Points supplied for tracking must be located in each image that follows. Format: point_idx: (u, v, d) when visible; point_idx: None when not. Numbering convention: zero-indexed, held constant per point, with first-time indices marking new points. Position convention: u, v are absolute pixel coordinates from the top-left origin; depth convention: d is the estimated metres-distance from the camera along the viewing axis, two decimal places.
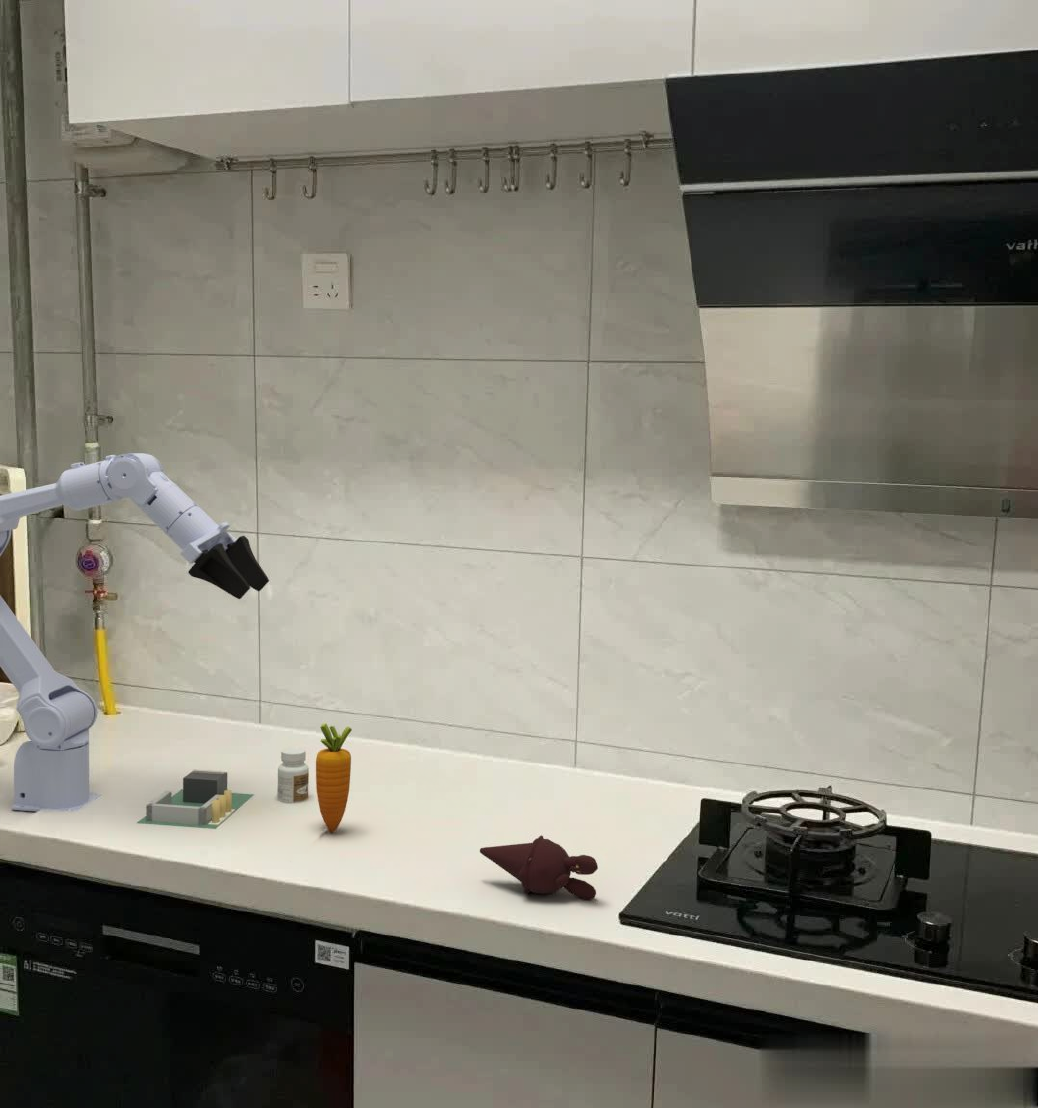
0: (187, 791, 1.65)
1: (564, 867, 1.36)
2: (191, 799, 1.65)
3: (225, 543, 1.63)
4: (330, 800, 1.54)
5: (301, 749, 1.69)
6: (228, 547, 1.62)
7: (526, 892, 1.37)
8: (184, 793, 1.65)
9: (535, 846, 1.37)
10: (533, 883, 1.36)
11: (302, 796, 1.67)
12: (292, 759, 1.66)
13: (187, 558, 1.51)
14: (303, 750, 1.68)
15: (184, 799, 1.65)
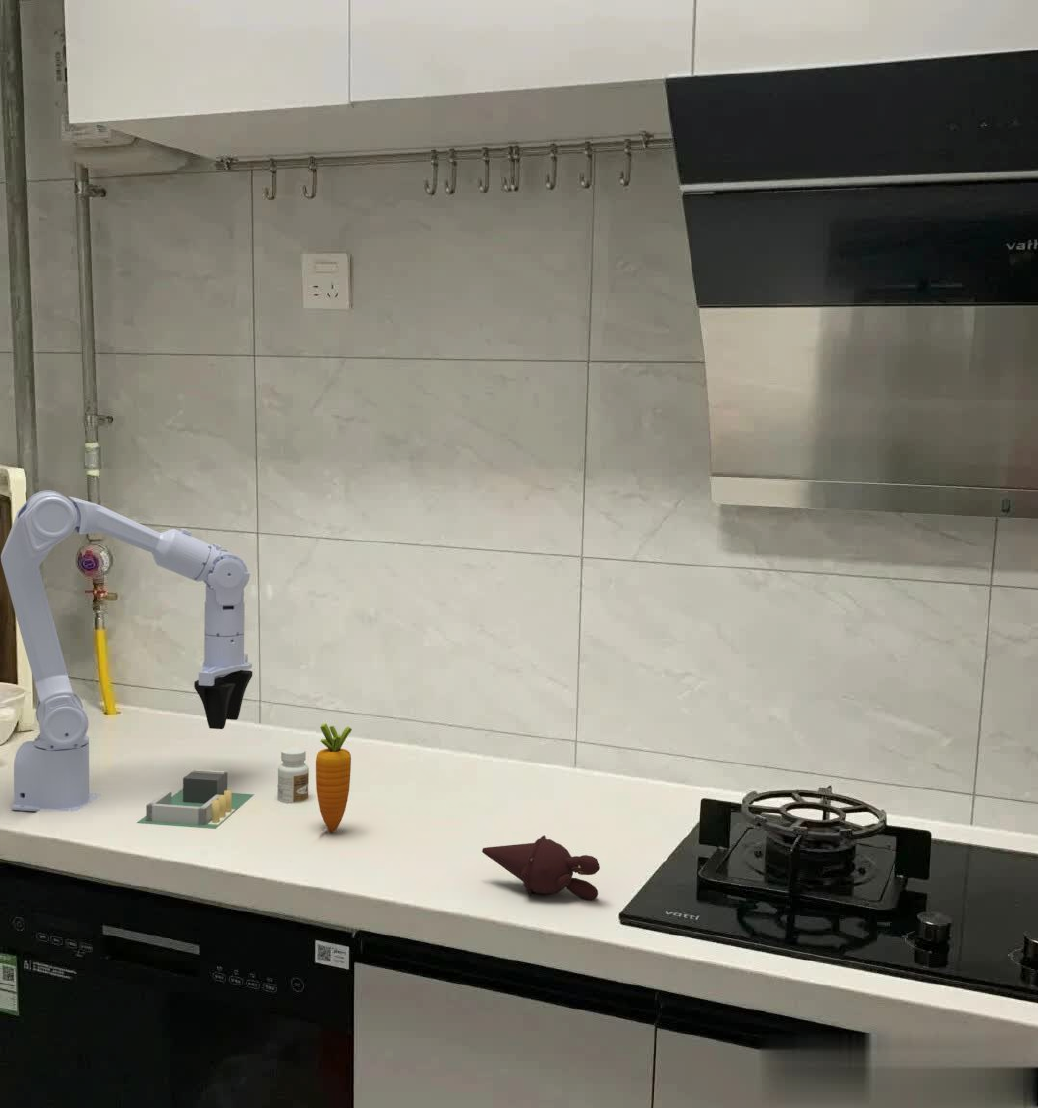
0: (187, 791, 1.65)
1: (566, 867, 1.36)
2: (191, 799, 1.65)
3: None
4: (330, 800, 1.54)
5: (301, 749, 1.69)
6: None
7: (528, 892, 1.37)
8: (184, 793, 1.65)
9: (537, 846, 1.37)
10: (535, 883, 1.36)
11: (302, 796, 1.67)
12: (292, 759, 1.66)
13: (200, 680, 1.65)
14: (303, 750, 1.68)
15: (184, 799, 1.65)
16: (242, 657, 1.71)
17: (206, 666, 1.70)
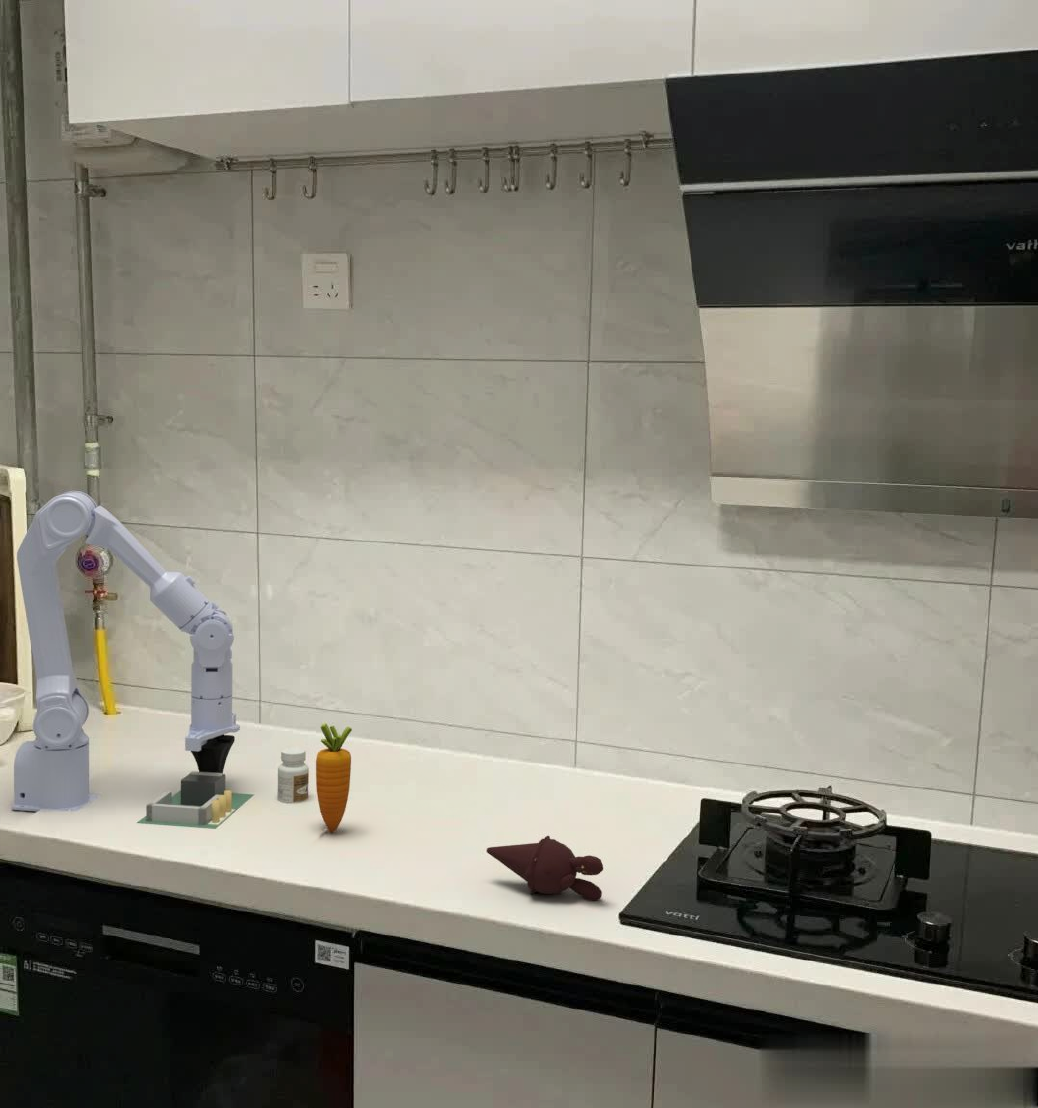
0: (184, 793, 1.64)
1: (570, 867, 1.36)
2: (189, 801, 1.64)
3: None
4: (330, 800, 1.54)
5: (301, 749, 1.69)
6: None
7: (532, 892, 1.37)
8: (182, 795, 1.64)
9: (541, 846, 1.37)
10: (538, 883, 1.36)
11: (302, 796, 1.67)
12: (292, 759, 1.66)
13: (186, 745, 1.61)
14: (303, 750, 1.68)
15: (182, 801, 1.64)
16: (230, 719, 1.68)
17: (193, 729, 1.66)
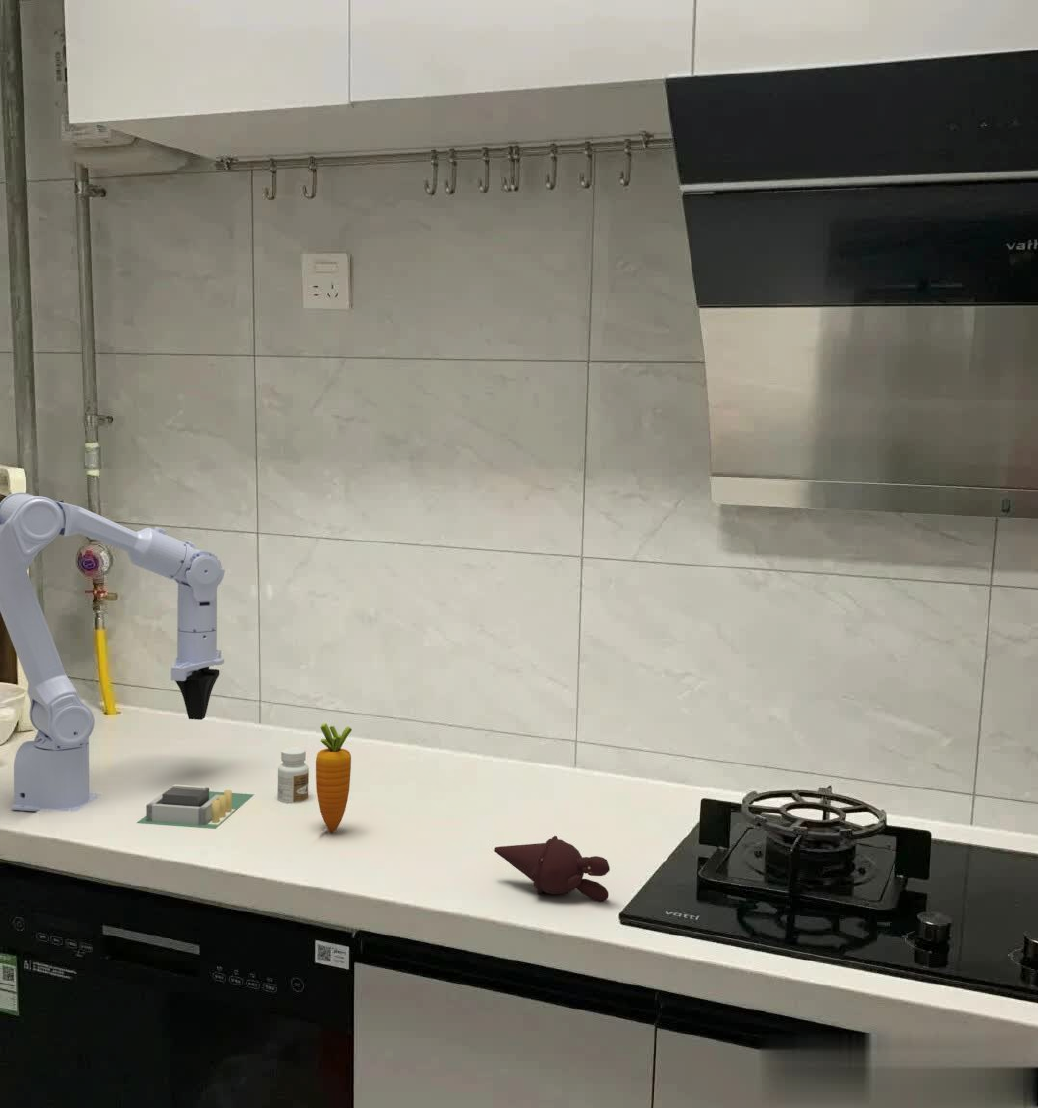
0: None
1: (576, 868, 1.36)
2: None
3: None
4: (330, 800, 1.54)
5: (301, 749, 1.69)
6: None
7: (539, 892, 1.37)
8: None
9: (548, 846, 1.37)
10: (545, 883, 1.36)
11: (302, 796, 1.67)
12: (292, 759, 1.66)
13: (172, 675, 1.68)
14: (303, 750, 1.68)
15: None
16: (214, 653, 1.74)
17: (179, 661, 1.72)
